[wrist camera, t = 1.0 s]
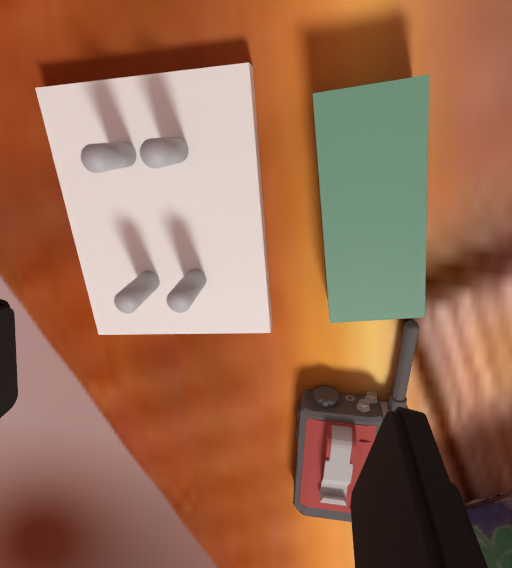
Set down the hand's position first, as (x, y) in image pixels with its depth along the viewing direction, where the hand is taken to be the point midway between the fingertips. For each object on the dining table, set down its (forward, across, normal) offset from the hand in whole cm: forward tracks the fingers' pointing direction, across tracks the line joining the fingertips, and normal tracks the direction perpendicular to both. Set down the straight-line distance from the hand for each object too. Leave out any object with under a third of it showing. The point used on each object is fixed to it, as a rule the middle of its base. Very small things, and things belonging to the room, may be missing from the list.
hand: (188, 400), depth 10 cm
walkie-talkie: (+21, -10, +15) cm, 27 cm away
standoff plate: (+20, +8, +1) cm, 21 cm away
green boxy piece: (+20, -6, -3) cm, 21 cm away
